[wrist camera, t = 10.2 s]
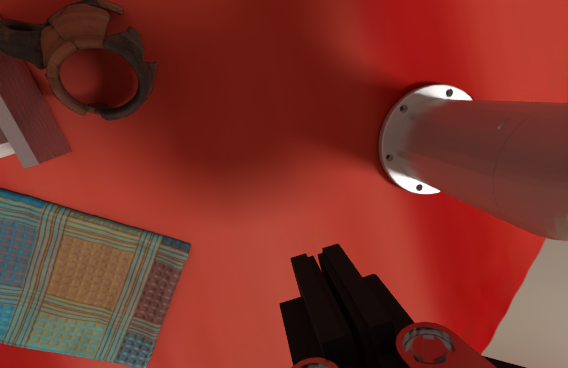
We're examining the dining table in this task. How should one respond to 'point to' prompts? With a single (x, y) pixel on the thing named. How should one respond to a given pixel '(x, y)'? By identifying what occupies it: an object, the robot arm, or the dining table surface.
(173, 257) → the dish towel
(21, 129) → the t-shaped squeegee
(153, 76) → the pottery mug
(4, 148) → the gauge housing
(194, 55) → the dining table surface
